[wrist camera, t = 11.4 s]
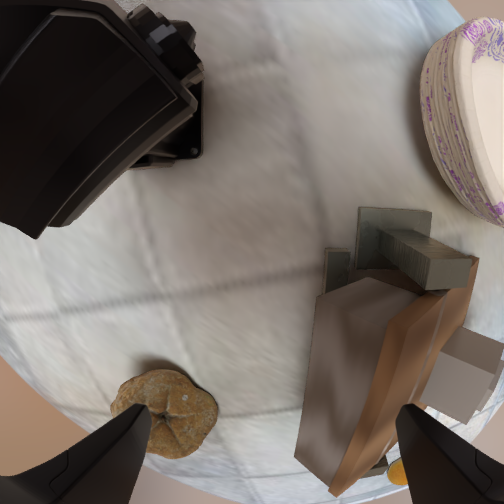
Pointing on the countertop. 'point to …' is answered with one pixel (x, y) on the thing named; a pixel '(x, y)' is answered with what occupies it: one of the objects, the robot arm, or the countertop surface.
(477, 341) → the gray block
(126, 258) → the countertop surface
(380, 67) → the countertop surface
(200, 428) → the fossil
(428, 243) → the trapdoor frame
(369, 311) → the trapdoor
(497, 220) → the paper bowls
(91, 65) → the robot arm
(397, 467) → the bread roll
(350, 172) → the countertop surface
